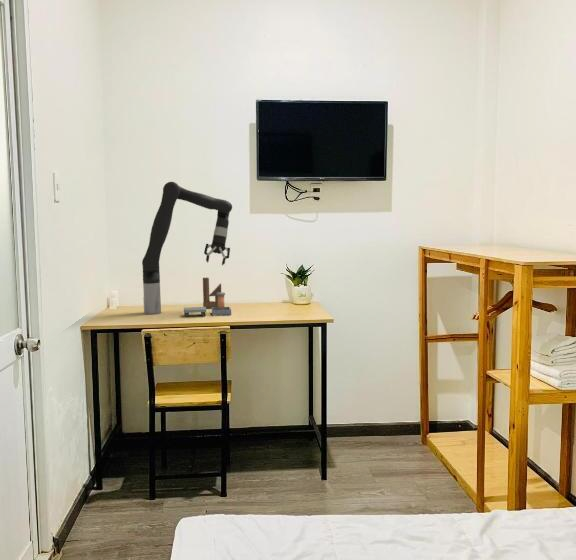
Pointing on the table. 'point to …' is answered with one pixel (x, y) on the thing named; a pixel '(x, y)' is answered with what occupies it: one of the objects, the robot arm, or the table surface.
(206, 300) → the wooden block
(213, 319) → the table surface
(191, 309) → the trolley
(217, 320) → the table surface
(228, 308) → the tray
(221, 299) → the stop pin
